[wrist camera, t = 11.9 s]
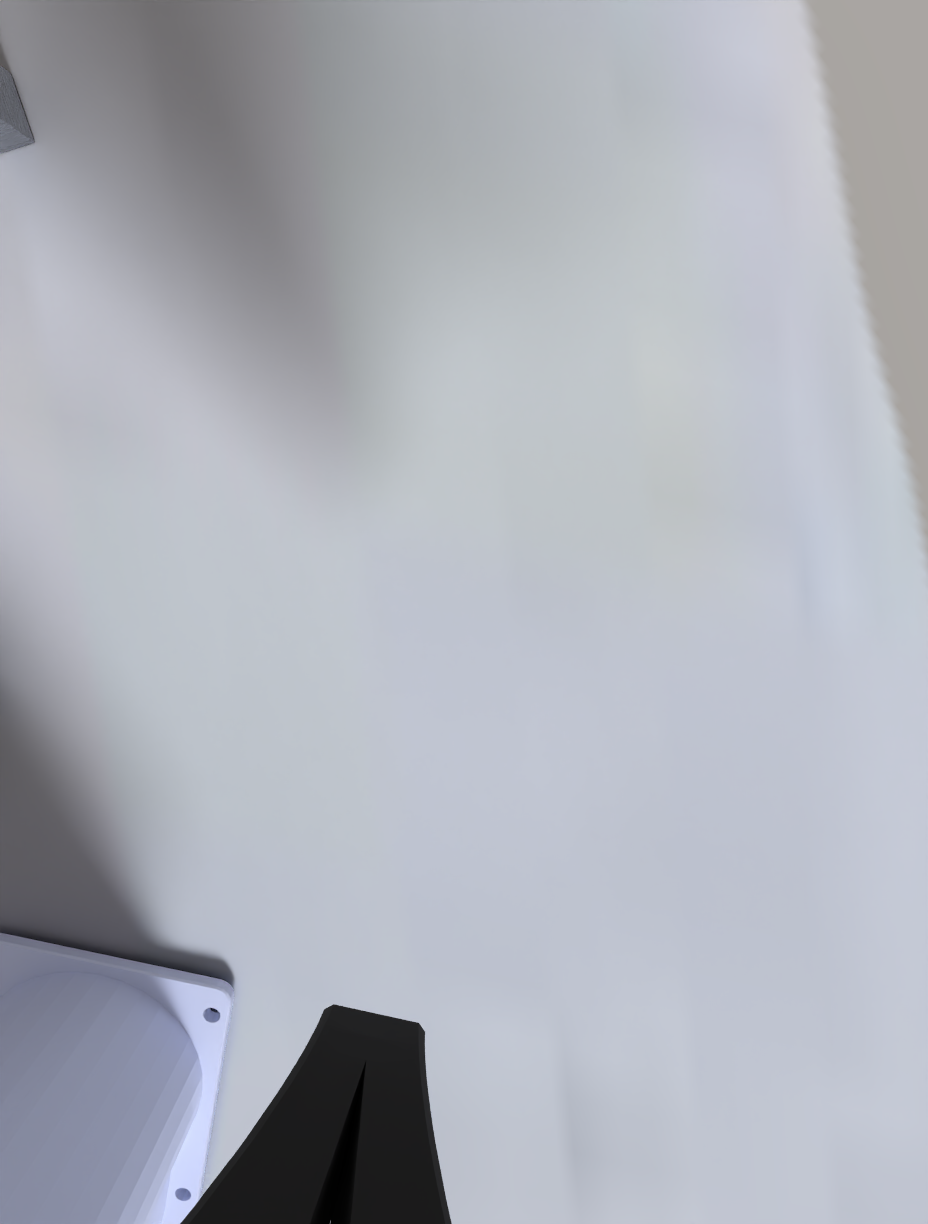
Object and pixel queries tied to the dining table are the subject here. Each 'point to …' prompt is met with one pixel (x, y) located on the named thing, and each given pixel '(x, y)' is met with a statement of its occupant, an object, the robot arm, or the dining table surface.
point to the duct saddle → (12, 116)
